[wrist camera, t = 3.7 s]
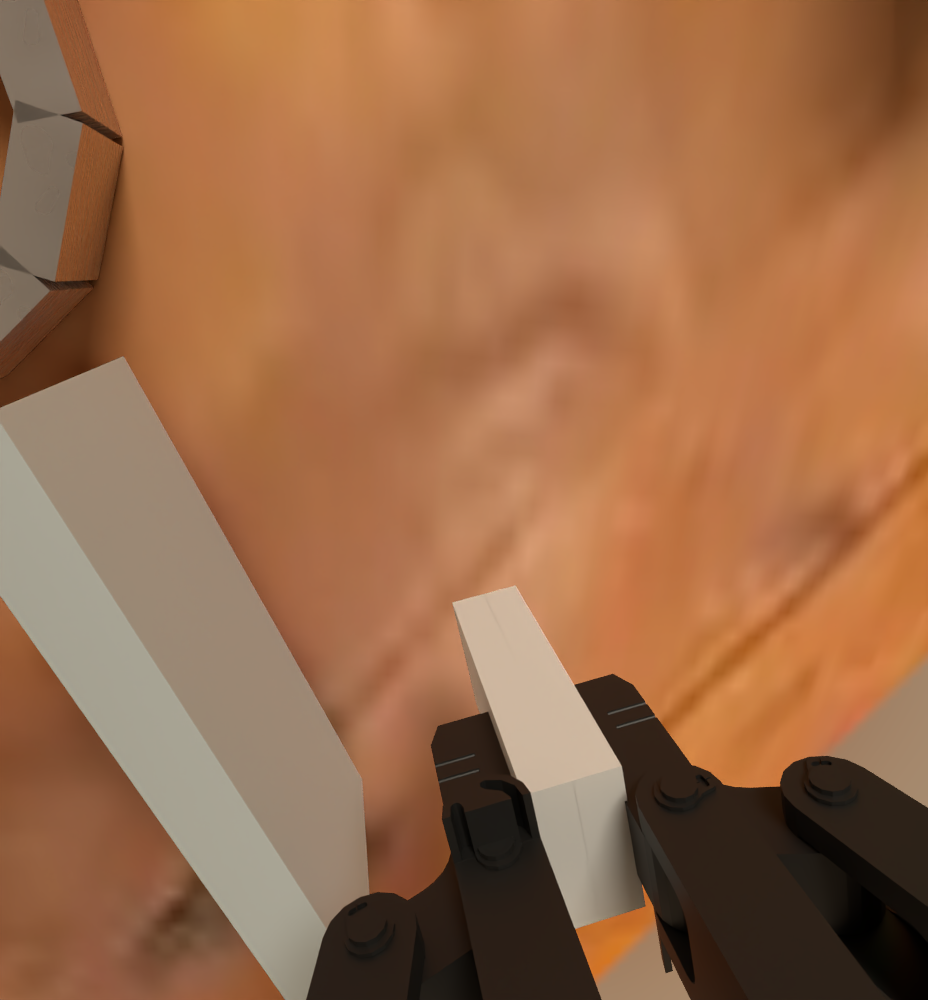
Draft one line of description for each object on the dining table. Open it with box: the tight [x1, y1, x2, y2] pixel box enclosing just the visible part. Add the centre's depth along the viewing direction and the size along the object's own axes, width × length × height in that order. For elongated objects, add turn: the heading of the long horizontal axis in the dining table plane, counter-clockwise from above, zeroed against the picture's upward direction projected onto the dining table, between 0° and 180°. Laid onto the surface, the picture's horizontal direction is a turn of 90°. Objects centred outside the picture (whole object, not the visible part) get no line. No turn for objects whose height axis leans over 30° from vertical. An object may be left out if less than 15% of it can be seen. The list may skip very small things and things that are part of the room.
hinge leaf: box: [0, 356, 370, 1000], centre depth 17 cm, size 2×14×8 cm, turn 22°
